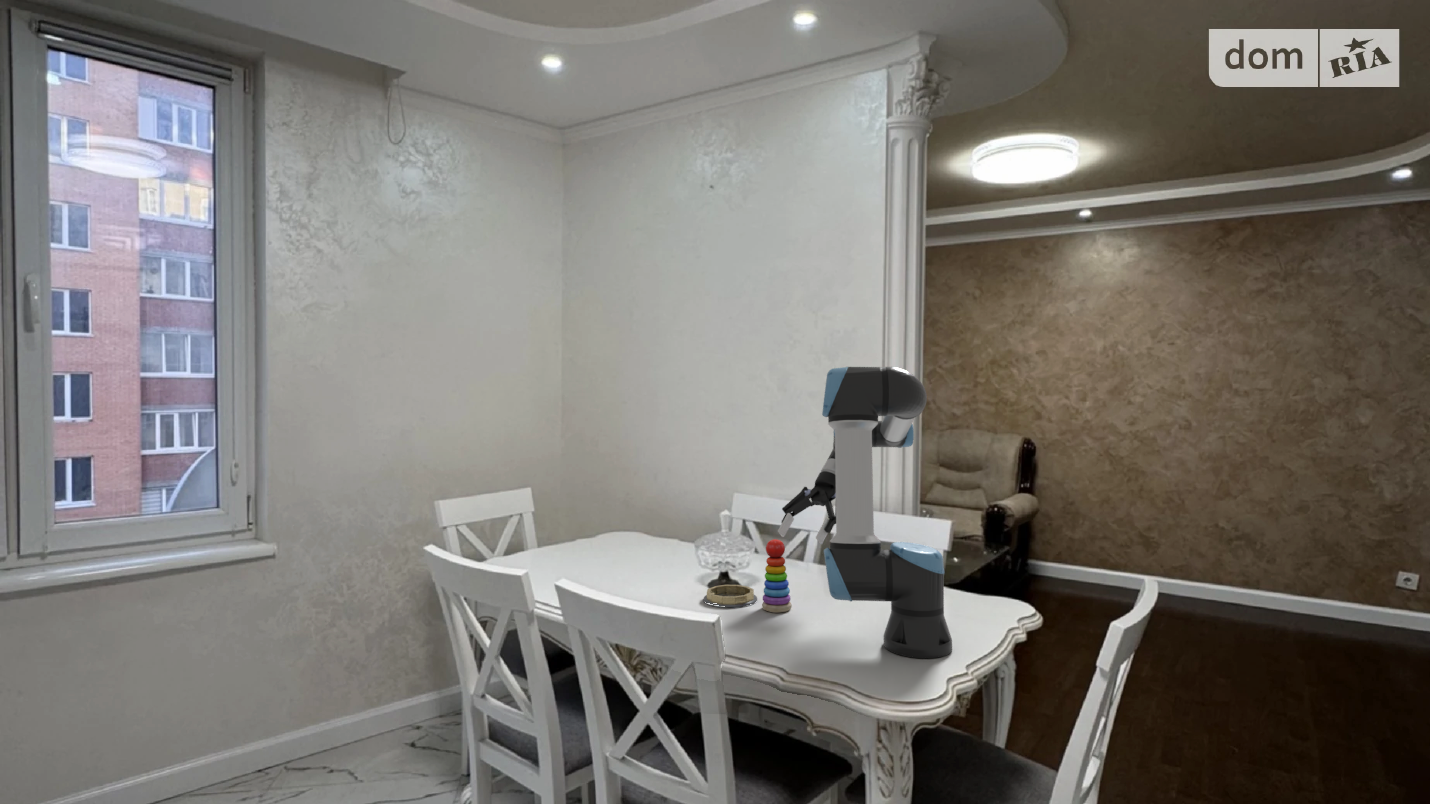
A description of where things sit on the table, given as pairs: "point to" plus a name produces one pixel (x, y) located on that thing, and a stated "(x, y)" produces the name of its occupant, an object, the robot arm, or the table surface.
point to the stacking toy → (776, 580)
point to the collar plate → (730, 595)
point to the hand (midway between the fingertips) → (799, 537)
